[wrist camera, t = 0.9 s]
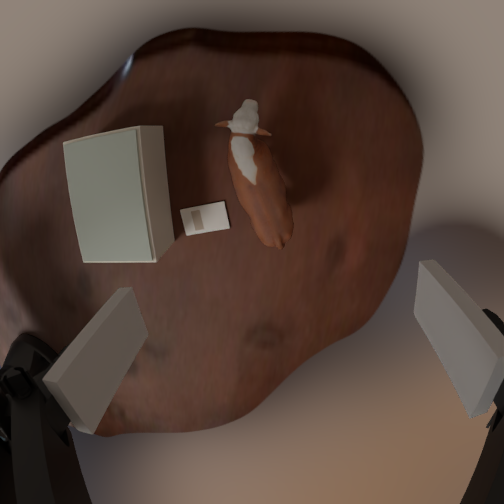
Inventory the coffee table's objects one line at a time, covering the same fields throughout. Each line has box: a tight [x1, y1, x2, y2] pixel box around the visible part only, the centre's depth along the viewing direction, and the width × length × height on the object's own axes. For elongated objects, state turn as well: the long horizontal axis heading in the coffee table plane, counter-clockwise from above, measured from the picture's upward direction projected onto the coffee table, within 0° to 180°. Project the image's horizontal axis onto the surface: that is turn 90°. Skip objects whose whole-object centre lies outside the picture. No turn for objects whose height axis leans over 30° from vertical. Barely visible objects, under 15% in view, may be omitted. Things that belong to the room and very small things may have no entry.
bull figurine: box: [215, 99, 294, 250], centre depth 27 cm, size 4×13×8 cm, turn 15°
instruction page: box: [180, 201, 230, 236], centre depth 33 cm, size 5×3×1 cm, turn 101°
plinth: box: [63, 126, 175, 263], centre depth 30 cm, size 9×13×6 cm
